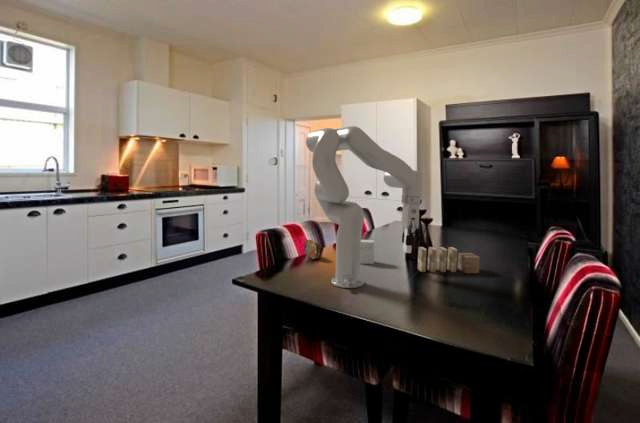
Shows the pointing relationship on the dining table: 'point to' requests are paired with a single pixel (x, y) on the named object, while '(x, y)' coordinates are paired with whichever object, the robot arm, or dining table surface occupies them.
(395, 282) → the dining table surface
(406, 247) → the domino
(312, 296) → the dining table surface
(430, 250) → the domino
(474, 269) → the end block
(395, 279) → the dining table surface
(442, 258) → the domino
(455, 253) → the domino
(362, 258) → the small box
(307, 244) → the tin
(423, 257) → the domino
